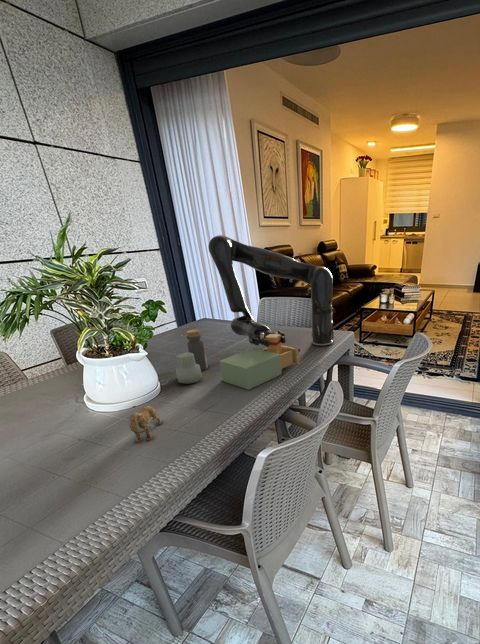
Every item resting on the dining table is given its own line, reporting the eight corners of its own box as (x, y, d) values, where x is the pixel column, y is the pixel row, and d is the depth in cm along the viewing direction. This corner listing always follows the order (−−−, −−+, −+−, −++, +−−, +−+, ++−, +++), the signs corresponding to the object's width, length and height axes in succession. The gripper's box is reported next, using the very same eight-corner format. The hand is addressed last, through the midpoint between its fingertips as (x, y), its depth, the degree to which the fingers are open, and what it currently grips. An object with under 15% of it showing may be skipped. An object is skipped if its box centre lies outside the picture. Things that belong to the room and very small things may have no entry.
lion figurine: (154, 446, 91) (145, 416, 87) (132, 449, 90) (122, 419, 86) (163, 419, 103) (155, 391, 99) (143, 422, 102) (135, 394, 98)
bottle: (210, 365, 142) (203, 329, 135) (204, 371, 137) (197, 333, 130) (196, 365, 143) (188, 329, 136) (190, 370, 138) (181, 333, 131)
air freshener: (203, 384, 126) (198, 357, 121) (179, 388, 123) (173, 361, 118) (200, 373, 135) (195, 348, 130) (178, 377, 132) (171, 352, 127)
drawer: (283, 354, 149) (282, 340, 147) (306, 359, 142) (305, 345, 140) (247, 368, 135) (245, 354, 133) (271, 375, 129) (269, 360, 126)
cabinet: (256, 366, 140) (254, 348, 136) (281, 374, 132) (280, 354, 128) (222, 381, 128) (219, 360, 124) (248, 389, 120) (245, 368, 117)
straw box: (271, 353, 139) (269, 333, 135) (282, 354, 138) (280, 334, 134) (267, 357, 135) (264, 337, 131) (277, 358, 134) (276, 337, 130)
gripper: (240, 326, 139) (257, 335, 127) (273, 320, 146) (292, 329, 133) (242, 344, 143) (259, 355, 130) (274, 338, 149) (293, 348, 137)
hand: (276, 342), depth 132 cm, fingers closed on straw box, 6 cm apart
